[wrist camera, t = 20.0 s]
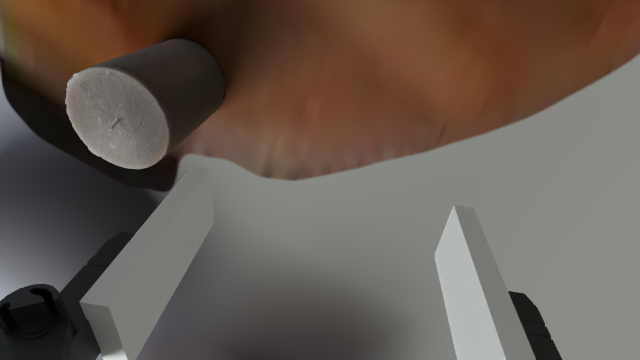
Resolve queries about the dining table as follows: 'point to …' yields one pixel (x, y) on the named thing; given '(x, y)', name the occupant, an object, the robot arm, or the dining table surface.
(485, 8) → the dining table surface
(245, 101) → the dining table surface
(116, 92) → the pillar candle
